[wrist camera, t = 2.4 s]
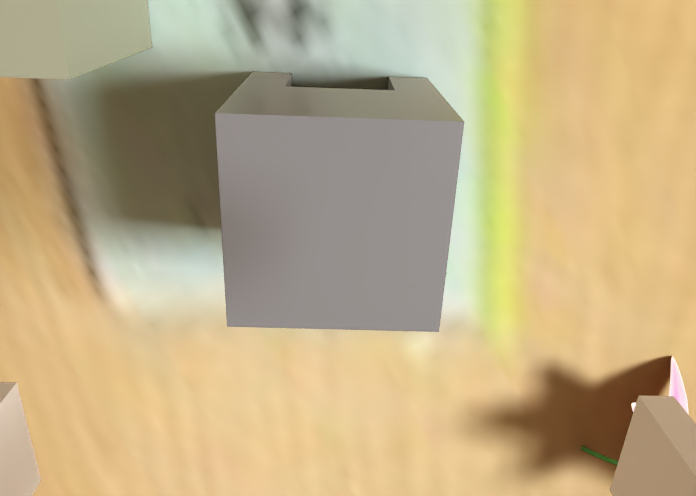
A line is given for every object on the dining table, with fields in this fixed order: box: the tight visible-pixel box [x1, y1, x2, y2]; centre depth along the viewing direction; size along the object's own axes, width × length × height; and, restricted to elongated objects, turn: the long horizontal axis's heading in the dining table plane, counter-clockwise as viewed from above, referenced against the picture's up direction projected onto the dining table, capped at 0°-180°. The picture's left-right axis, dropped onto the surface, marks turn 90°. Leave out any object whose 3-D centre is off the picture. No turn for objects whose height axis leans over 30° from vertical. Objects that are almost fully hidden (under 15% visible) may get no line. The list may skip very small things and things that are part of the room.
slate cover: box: [215, 72, 464, 332], centre depth 28 cm, size 9×9×10 cm
